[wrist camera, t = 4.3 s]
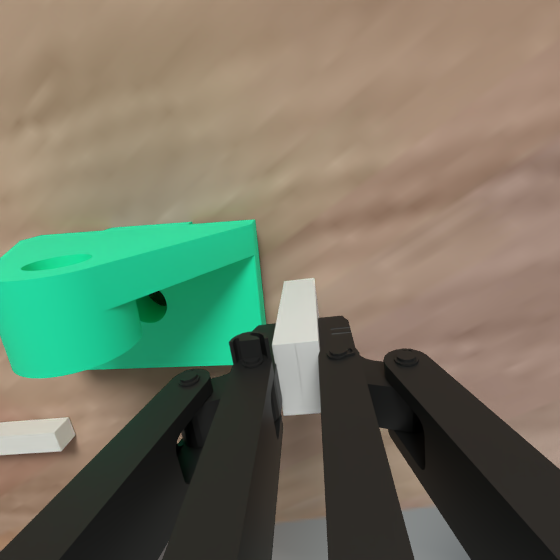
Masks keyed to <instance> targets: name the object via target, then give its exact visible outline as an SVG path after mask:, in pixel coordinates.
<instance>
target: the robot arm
mask: <svg viewBox="0 0 560 560" xmlns="http://www.w3.org/2000/svg"><path fill="white" fill-rule="evenodd" d="M229 346H230V351H231V356H232V360H233V366H232V369H231V372H230V373H228V374H226V375H223V376H219V377H216V378H212V379H211V378H210V374H209V372H208V371H206V370H204V369H190V370H186V371H184V372H182V373H180V374H178V375H177V376H175V377H174V378H173V379H172V380H171V381H170V382H169V383H168V384H167V385H166V386H165V387H164V388H163V389H162V390H161V391H160V392H159V393H158V394H157V395H156V396H155V397H154V398H153V399H152V400H151V401H150V402H149V403H148V404H147V405H146V406H145V407H144V408H143V409H142V410H141V411H140V412H139V413H138V414H137V415H136V416H135V417H134V418H133V419H132V420H131V421H130V422H129V423H128V424H127V425H126V426H125V427H124V428H123V429H122V430H121V431H120V432H119V433H118V434H117V435H116V436H115V437H114V438H113V439H112V440H111V441H110V442H109V443H108V444H107V445H106V446H105V447H104V448H103V449H102V450H101V451H100V452H99V453H98V454H97V455H96V456H95V457H94V458H93V459H92V460H91V461H90V462H89V463H88V464H87V465H86V466H85V467H84V468H83V469H82V470H81V471H80V472H79V473H78V474H77V475H76V476H75V477H74V478H73V479H72V480H71V481H70V482H69V483H68V484H67V485H66V486H65V487H64V488H63V489H62V490H61V491H60V492H59V493H58V494H57V495H56V496H55V497H54V498H53V499H52V500H51V501H50V503H49V504H48V505H47V506H46V507H45V508H44V509H43V510H42V511H41V512H40V513H39V514H38V515H37V516H36V517H35V518H34V519H33V520H32V521H31V522H30V523H29V524H28V525H27V526H26V527H25V528H24V529H23V530H22V531H21V532H20V533H19V534H18V535H17V536H16V537H15V538H14V539H13V540H12V541H11V542H10V543H9V544H8V545H7V546H6V547H5V548H4V549H3V550H2V551H1V552H0V560H158V558H159V556H160V555H161V553H162V551H163V550H164V548H165V546H166V545H167V543H168V546H167V548H166V551H165V553H164V556H163V559H162V560H271V559H272V548H273V536H274V525H275V514H276V502H277V491H278V480H279V468H280V457H281V445H282V434H283V422H282V416H281V409H282V408H283V414H284V416H287V415H300V414H314V413H321V423H322V443H323V462H324V482H325V502H326V521H327V541H328V560H414V556H413V553H412V549H411V545H410V541H409V538H408V534H407V530H406V527H405V523H404V519H403V515H402V511H401V508H400V504H399V500H398V496H397V493H396V489H395V485H394V481H393V478H392V474H391V470H390V467H389V463H388V459H387V455H386V452H385V448H384V444H383V440H382V437H381V433H380V429H379V427H380V428H386V429H388V432H389V435H390V437H391V439H392V440H393V442H394V443H395V445H396V446H397V448H398V449H399V451H400V452H401V454H402V455H403V457H404V458H405V460H406V461H407V463H408V464H409V466H410V467H411V469H412V470H413V472H414V473H415V475H416V477H417V478H418V480H419V481H420V483H421V484H422V486H423V487H424V489H425V490H426V492H427V493H428V495H429V496H430V498H431V499H432V501H433V502H434V504H435V505H436V507H437V508H438V510H439V511H440V513H441V514H442V516H443V518H444V519H445V521H446V522H447V524H448V525H449V527H450V528H451V530H452V531H453V533H454V534H455V536H456V537H457V539H458V540H459V542H460V543H461V545H462V546H463V548H464V549H465V551H466V552H467V554H468V556H469V557H470V559H471V560H560V469H559V468H557V467H556V466H555V465H554V464H553V463H552V462H551V461H549V460H548V459H547V458H546V457H545V456H544V455H542V454H541V453H540V452H539V451H538V450H537V449H535V448H534V447H533V446H532V445H531V444H530V443H528V442H527V441H526V440H525V439H524V438H523V437H521V436H520V435H519V434H518V433H517V432H516V431H514V430H513V429H512V428H511V427H510V426H509V425H507V424H506V423H505V422H504V421H503V420H502V419H500V418H499V417H498V416H497V415H496V414H495V413H493V412H492V411H491V410H490V409H489V408H488V407H487V406H485V405H484V404H483V403H482V402H481V401H480V400H478V399H477V398H476V397H475V396H474V395H473V394H471V393H470V392H469V391H468V390H467V389H466V388H464V387H463V386H462V385H461V384H460V383H459V382H457V381H456V380H455V379H454V378H453V377H452V376H450V375H449V374H448V373H447V372H446V371H445V370H443V369H442V368H441V367H440V366H439V365H438V364H436V363H435V362H434V361H433V360H432V359H431V358H429V357H428V356H427V355H426V354H424V353H422V352H420V351H417V350H413V349H398V350H394V351H391V352H389V353H388V354H386V355H385V357H384V362H381V361H373V360H369V359H365V358H363V357H361V356H360V355H359V352H358V350H357V349H356V348H355V345H354V341H353V337H352V333H351V330H350V326H349V322H348V320H347V319H345V318H344V317H343V316H334V317H325V318H319V312H318V303H317V295H316V287H315V279H314V278H309V279H300V280H292V281H284V285H283V291H282V296H281V301H280V306H279V311H278V316H277V321H276V323H275V324H266V325H258V326H257V327H256V328H255V329H254V330H253V331H250V332H245V333H242V334H239V335H237V336H235V337H233V338H232V339H231V340H230V341H229ZM180 433H181V434H182V437H183V438H182V439H181V441H180V442H179V443H178V444H177V439H178V437H179V435H180ZM168 541H169V542H168Z"/></svg>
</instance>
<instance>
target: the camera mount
mask: <svg viewBox="0 0 560 560" xmlns="http://www.w3.org/2000/svg"><path fill="white" fill-rule="evenodd" d="M157 291H160V292H161V293H162V294H163V296H164V297H165V300H166V303H167V306H163V305H159V304H157V303H156V302H154V301H153V300H152V299H151V298H150V296H149V294H151V293H154V292H157ZM258 325H266V318H265V308H264V299H263V289H262V279H261V270H260V260H259V251H258V241H257V231H256V222H255V220H241V221H228V222H214V223H201V224H192V222H183V223H170V224H156V225H143V226H129V227H116V228H110V229H107V230H104V231H92V232H78V233H65V234H51V235H40V236H36V237H33V238H29V239H25V240H22V241H19V242H18V243H17V244H16V245H15V246H14V247H12V248H11V249H10V250H9V251H8V252H7V253H6V254H4V255H3V256H2V257H1V258H0V336H1V339H2V342H3V345H4V347H5V350H6V353H7V356H8V359H9V361H10V364H11V367H12V370H13V371H14V373H16V374H17V375H19V376H22V377H27V378H51V377H58V376H64V375H69V374H73V373H77V372H81V371H84V370H99V369H128V368H157V367H187V366H216V365H233V360H232V356H231V351H230V346H229V341H230V340H231V339H232V338H233V337H235V336H237V335H239V334H242V333H245V332H250V331H253V330H254V329H255V328H256V327H257V326H258Z"/></svg>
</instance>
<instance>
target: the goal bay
mask: <svg viewBox="0 0 560 560" xmlns="http://www.w3.org/2000/svg"><path fill="white" fill-rule="evenodd" d="M74 436H75V432H74V430H73V427H72V424H71V422H70V419H69V417H65V418H52V419H39V420H26V421H13V422H0V455H11V454H26V453H42V452H57V451H62V450H63V449H64V448H65V447H66V446H67V444H68V443H69V442H70V441H71V440H72V438H73V437H74Z"/></svg>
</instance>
